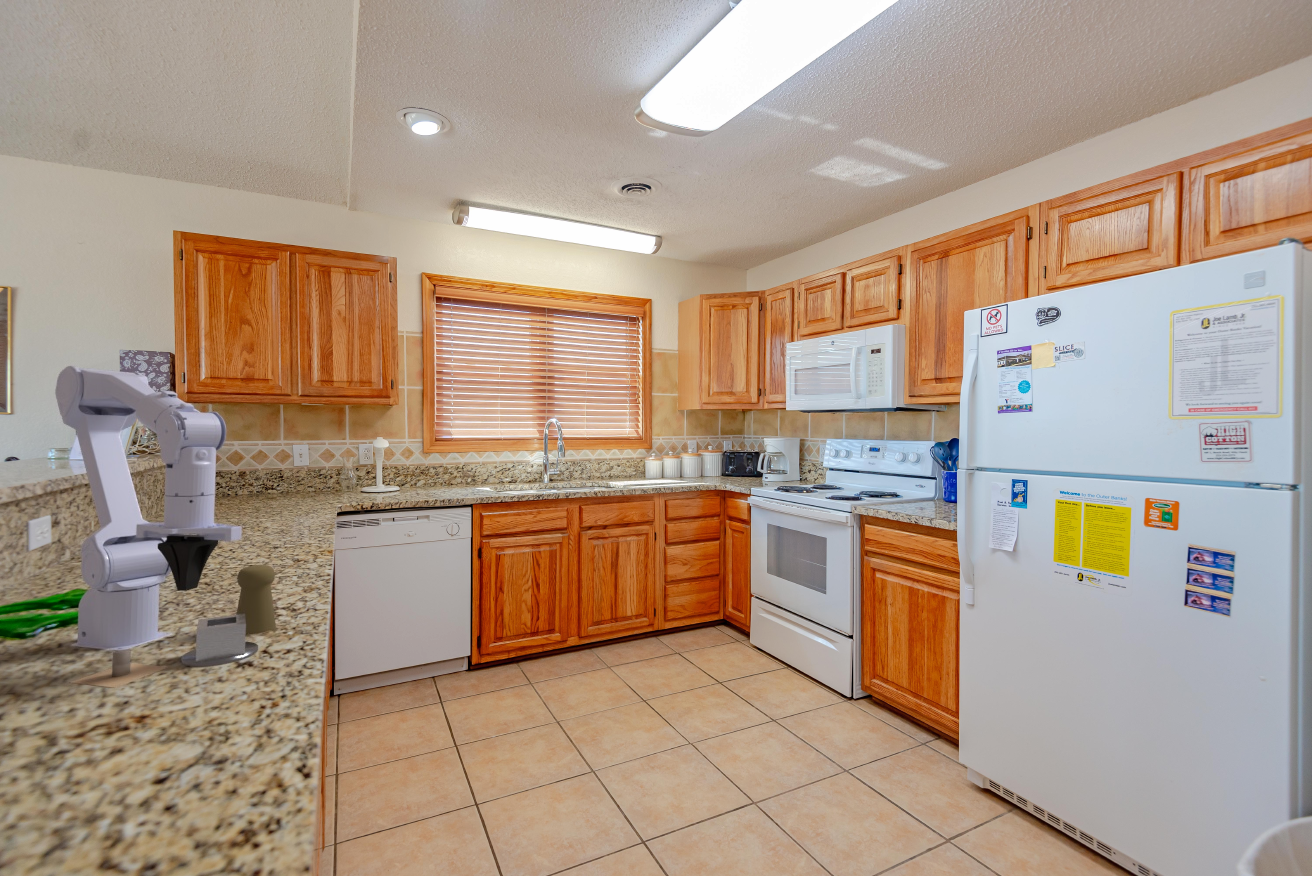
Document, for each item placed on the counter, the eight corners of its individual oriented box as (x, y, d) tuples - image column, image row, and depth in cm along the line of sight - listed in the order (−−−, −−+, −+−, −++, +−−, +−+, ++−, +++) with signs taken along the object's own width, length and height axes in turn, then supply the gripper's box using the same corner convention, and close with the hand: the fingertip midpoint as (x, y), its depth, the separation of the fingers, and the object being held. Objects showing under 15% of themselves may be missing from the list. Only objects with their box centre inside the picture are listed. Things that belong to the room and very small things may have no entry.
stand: (69, 686, 76) (70, 658, 76) (127, 666, 83) (127, 640, 83) (114, 692, 74) (115, 663, 74) (169, 671, 81) (169, 645, 81)
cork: (254, 640, 94) (256, 571, 95) (222, 636, 96) (224, 568, 96) (285, 628, 100) (287, 563, 100) (255, 625, 102) (256, 561, 102)
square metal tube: (195, 662, 82) (196, 629, 82) (197, 650, 87) (198, 619, 87) (244, 654, 85) (245, 623, 85) (244, 643, 90) (245, 613, 90)
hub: (164, 667, 83) (165, 638, 83) (222, 645, 92) (222, 619, 92) (219, 673, 81) (220, 644, 81) (272, 650, 90) (273, 624, 90)
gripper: (116, 495, 82) (113, 593, 82) (214, 499, 81) (211, 598, 81) (162, 491, 89) (159, 581, 89) (253, 494, 88) (250, 586, 88)
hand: (187, 589), depth 85 cm, fingers closed
